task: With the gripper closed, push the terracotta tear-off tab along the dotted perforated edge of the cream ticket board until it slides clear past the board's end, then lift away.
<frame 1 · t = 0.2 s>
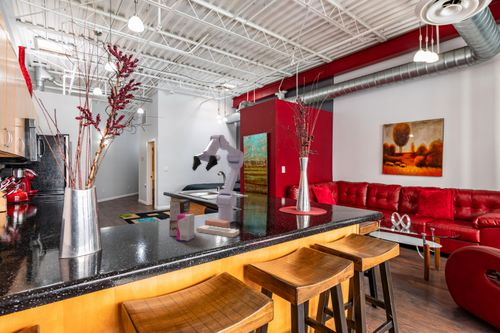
hand: (200, 169, 126), 31 cm above the counter, tool tilted 45°, fingers open, 7 cm apart
ticket board: (217, 232, 129), on the counter
supplement box: (185, 240, 117), on the counter
coffee box: (179, 234, 126), on the counter
stub tab: (217, 224, 137), point 2 cm above the counter, slide at 0.0 cm
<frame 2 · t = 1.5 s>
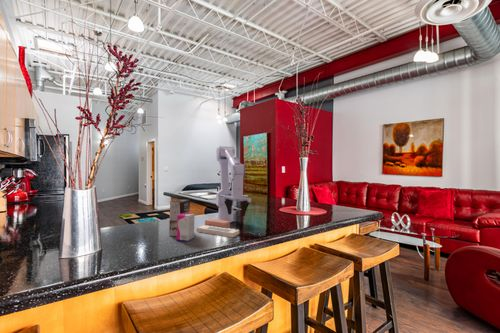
hand: (236, 215, 132), 8 cm above the counter, tool pointing down, fingers open, 7 cm apart
nothing on the counter moved.
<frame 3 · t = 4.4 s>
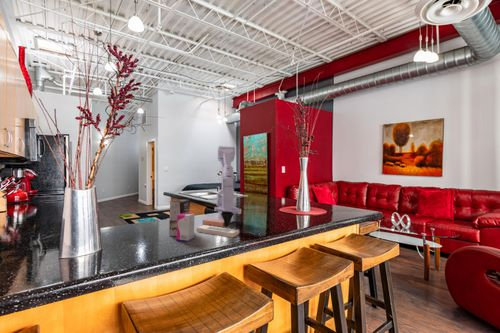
hand: (227, 226, 134), 2 cm above the counter, tool pointing down, fingers closed
stub tab: (214, 224, 137), point 2 cm above the counter, slide at 1.5 cm, touching gripper
everything else where it was.
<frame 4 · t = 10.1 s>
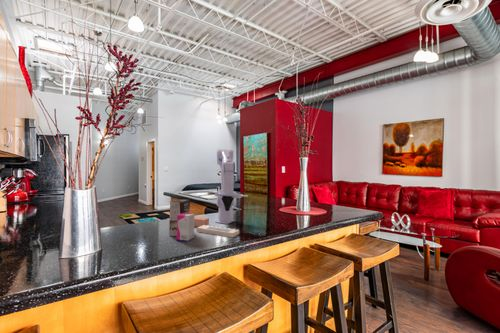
hand: (227, 210, 138), 9 cm above the counter, tool pointing down, fingers closed
stub tab: (196, 221, 142), point 2 cm above the counter, slide at 12.8 cm
everything else where it was.
at the end: stub tab slide at 12.8 cm; coffee box moved 0.2 cm from its start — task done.
